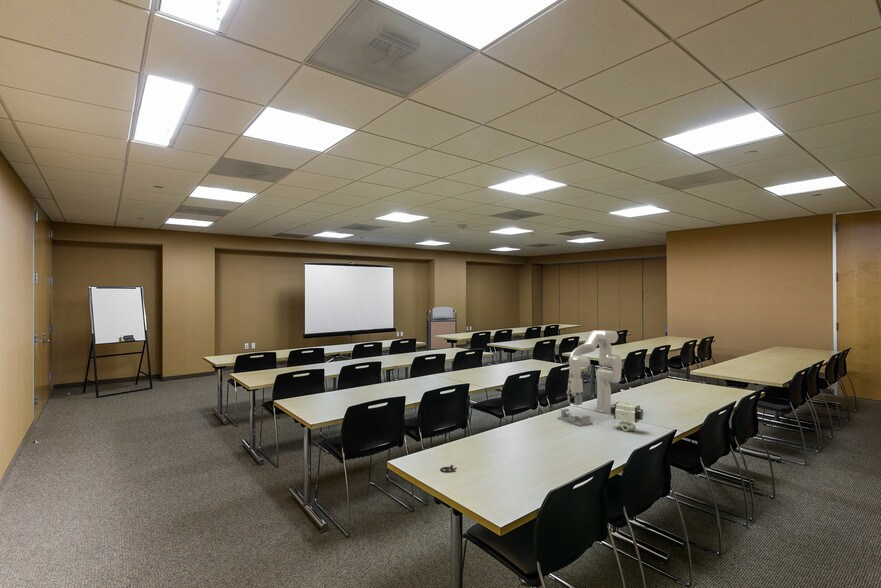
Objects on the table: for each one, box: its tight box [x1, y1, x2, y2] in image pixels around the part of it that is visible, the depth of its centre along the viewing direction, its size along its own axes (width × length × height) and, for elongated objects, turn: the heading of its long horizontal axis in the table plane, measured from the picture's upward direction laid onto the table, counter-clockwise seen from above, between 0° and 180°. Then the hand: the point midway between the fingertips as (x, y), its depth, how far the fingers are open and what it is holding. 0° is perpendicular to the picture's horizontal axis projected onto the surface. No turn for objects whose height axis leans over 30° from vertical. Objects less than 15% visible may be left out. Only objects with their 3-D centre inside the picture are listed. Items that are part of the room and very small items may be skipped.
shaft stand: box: [557, 408, 594, 428], centre depth 287 cm, size 20×12×6 cm, turn 29°
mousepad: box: [439, 464, 457, 474], centre depth 206 cm, size 9×8×1 cm
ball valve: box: [610, 401, 644, 432], centre depth 269 cm, size 18×8×18 cm, turn 50°
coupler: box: [567, 393, 583, 406], centre depth 287 cm, size 8×5×6 cm, turn 29°
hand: (574, 402), depth 286 cm, fingers closed on coupler, 5 cm apart
